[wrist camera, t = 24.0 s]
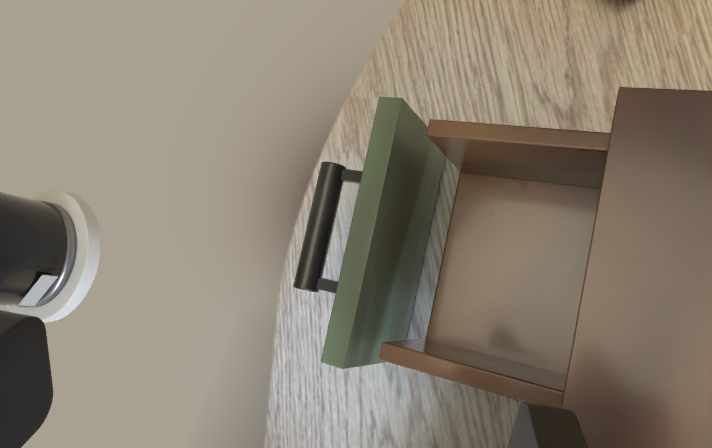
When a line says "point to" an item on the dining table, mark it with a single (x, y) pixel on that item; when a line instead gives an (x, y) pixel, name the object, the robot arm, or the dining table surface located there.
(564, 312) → the drawer
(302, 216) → the dining table surface
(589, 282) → the cabinet
